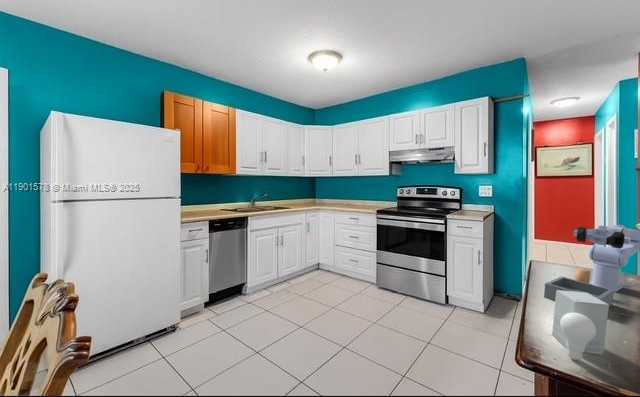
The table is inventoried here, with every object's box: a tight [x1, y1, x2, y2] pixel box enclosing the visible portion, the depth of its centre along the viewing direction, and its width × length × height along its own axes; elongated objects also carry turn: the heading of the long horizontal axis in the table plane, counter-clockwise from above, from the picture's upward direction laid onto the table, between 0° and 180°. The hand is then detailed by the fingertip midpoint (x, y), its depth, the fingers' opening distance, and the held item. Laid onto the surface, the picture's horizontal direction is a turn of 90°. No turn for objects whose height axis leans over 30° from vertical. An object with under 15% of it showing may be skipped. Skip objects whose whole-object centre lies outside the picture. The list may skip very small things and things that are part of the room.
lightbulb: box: [560, 313, 596, 361], centre depth 65 cm, size 6×6×11 cm
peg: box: [574, 268, 592, 283], centre depth 105 cm, size 4×4×8 cm
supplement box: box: [551, 290, 610, 356], centre depth 71 cm, size 7×7×13 cm
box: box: [543, 276, 615, 308], centre depth 96 cm, size 14×14×5 cm
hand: (592, 238), depth 98 cm, fingers open, 7 cm apart
